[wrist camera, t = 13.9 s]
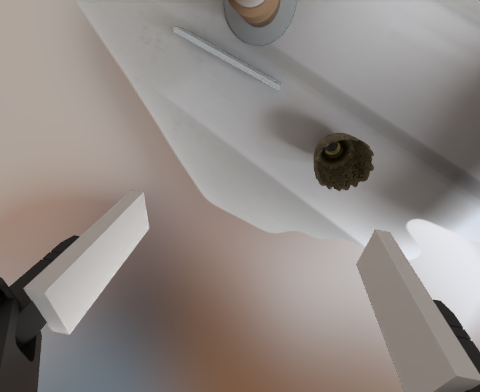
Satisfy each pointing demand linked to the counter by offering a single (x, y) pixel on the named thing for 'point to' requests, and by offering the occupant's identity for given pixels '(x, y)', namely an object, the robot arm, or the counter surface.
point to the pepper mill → (256, 11)
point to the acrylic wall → (227, 57)
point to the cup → (342, 162)
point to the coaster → (263, 33)
